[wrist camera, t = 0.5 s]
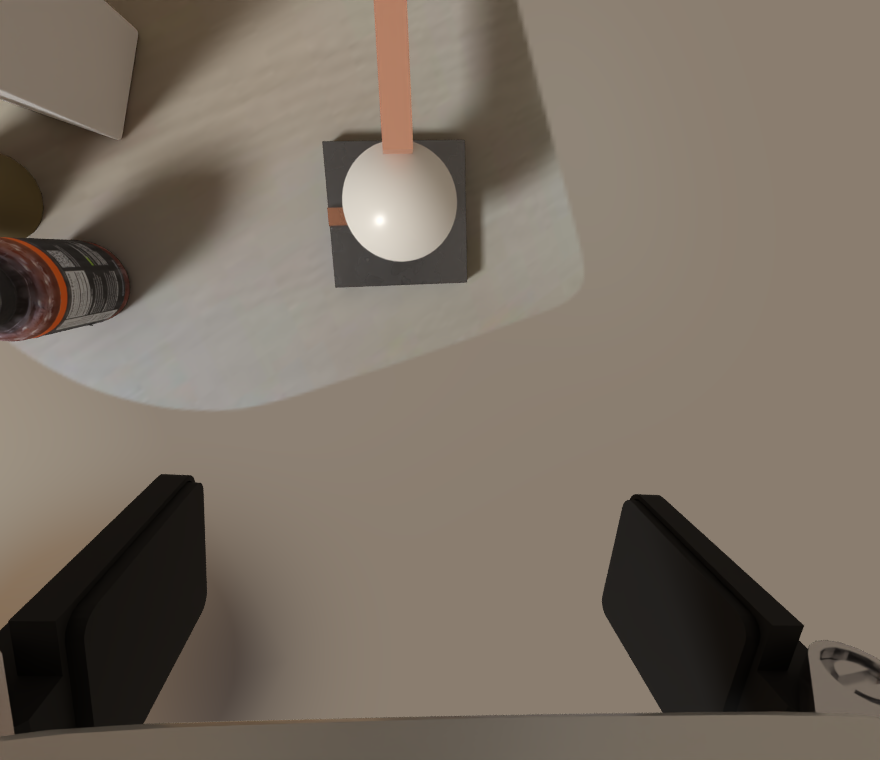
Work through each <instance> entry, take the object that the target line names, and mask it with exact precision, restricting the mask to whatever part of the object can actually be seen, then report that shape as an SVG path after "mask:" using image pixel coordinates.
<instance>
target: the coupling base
mask: <svg viewBox="0 0 880 760" xmlns="http://www.w3.org/2000/svg"><path fill="white" fill-rule="evenodd" d="M381 142H382V141H322V143H323V154H324V166H325V177H326V188H327V199H328V208H327V209H328V220H329V226H330V232H331V244H332V255H333V266H334V277H335V288H337V287H363V286H388V285H414V284H439V283H464V282H467V250H466V193H465V140H413V142H415V143H418V144H420V145H422V146H424V147H426V148H428V149H429V150H431V151H432V152H433V153H434V154H436V155H437V156H438V157H439V158H440V159H441V161H442V162H443V163H444V164H445V166H446V167H447V169H448V170H449V172H450V174H451V176H452V179H453V182H454V185H455V189H456V195H457V210H456V217H455V220H454V223H453V226H452V228H451V231H450V232H449V234H448V236H447V237H446V239H445V240H444V241H443V243H442V244H441V245H440V246H439V247H438V248H437V249H435V250H434V251H433V252H431V253H430V254H428V255H426V256H424V257H422V258H419V259H416V260H412V261H404V262H402V261H391V260H387V259H384V258H381V257H379V256H376V255H374V254H373V253H371V252H370V251H368V250H367V249H366V248H364V247H363V246H362V245H361V244H360V243H359V242H358V241H357V239H356V238H355V237H354V235H353V234H352V232H351V230H350V229H349V227H348V224H347V222H346V219H345V216H344V212H343V205H342V193H343V186H344V182H345V178H346V176H347V173H348V171H349V169H350V167H351V166H352V164H353V163H354V161H355V160H356V159H357V158H358V157H359V156H360V155H361V154H362V153H363V152H364V151H365V150H367V149H368V148H370V147H372V146H373V145H375V144H378V143H381Z"/></svg>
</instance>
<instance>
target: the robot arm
mask: <svg viewBox="0 0 880 760" xmlns="http://www.w3.org/2000/svg"><path fill="white" fill-rule="evenodd" d="M206 596H207V581H206V552H205V524H204V494H203V486H202V484H201V483H195V480H194V478H193V477H192V476H191V475H168V474H161V475H160V476H158V477H157V478H156V479H155V480H154V481H153V482H152V483H151V484H150V485H149V486H148V487H147V488H146V489H145V490H144V491H143V492H142V493H141V494H140V495H139V496H137V497H136V499H134V500H133V501H132V502H131V503H130V504H129V505H128V506H127V507H126V508H125V509H124V510H123V511H122V512H121V513H120V514H119V515H118V516H117V517H116V518H115V519H114V520H113V521H112V522H110V523H109V524H108V525H107V526H106V527H105V528H104V529H103V530H102V531H101V532H100V533H99V534H98V535H97V536H96V537H95V538H94V539H93V540H92V541H91V542H90V543H89V544H88V545H87V546H86V547H85V548H84V549H83V550H81V552H79V553H78V554H77V555H76V556H75V557H74V558H73V559H72V560H71V561H70V562H69V563H68V564H67V565H66V566H65V567H64V568H63V569H62V570H61V571H60V572H59V573H58V574H57V575H56V576H55V577H54V578H52V580H50V581H49V582H48V583H47V584H46V585H45V586H44V587H43V588H42V589H41V590H40V591H39V592H38V593H37V594H36V595H35V596H34V597H33V598H32V599H31V600H30V601H29V602H28V603H27V604H25V605H24V607H22V608H21V609H20V610H19V611H18V612H17V613H16V614H15V615H14V616H13V617H12V618H11V619H10V620H9V621H8V623H7V624H6V625H5V626H4V627H3V628H2V629H1V630H0V760H880V660H879V659H877V658H876V657H874V656H872V655H870V654H868V653H866V652H864V651H862V650H860V649H858V648H855V647H852V646H849V645H846V644H843V643H840V642H835V641H829V640H821V641H815V642H813V643H812V644H810V645H809V648H808V649H807V648H806V647H805V646H804V645H803V644H802V643H801V642H800V641H799V638H800V635H801V632H802V630H803V627H804V625H803V624H802V623H801V622H799V621H798V620H797V619H796V618H795V617H794V616H793V615H792V614H791V613H790V612H789V611H787V610H786V609H785V608H784V607H783V606H782V605H781V604H780V603H779V602H777V601H776V600H775V599H774V598H773V597H772V596H771V595H770V594H769V593H768V592H767V591H765V590H764V589H763V588H762V587H761V586H760V585H759V584H758V583H756V582H755V581H754V580H753V579H752V578H751V577H750V576H749V575H748V574H747V573H745V572H744V571H743V570H742V569H741V568H740V567H739V566H738V565H737V564H736V563H735V562H733V561H732V560H731V559H730V558H729V557H728V556H727V555H726V554H725V553H723V552H722V551H721V550H720V549H719V548H718V547H717V546H716V545H715V544H714V543H712V542H711V541H710V540H709V539H708V538H707V537H706V536H705V535H704V534H702V533H701V532H700V531H699V530H698V529H697V528H696V527H695V526H694V525H693V524H692V523H690V522H689V521H688V520H687V519H686V518H685V517H684V516H683V515H682V514H681V513H679V512H678V511H677V510H676V509H675V508H674V507H673V506H672V505H671V504H669V503H668V502H667V501H666V500H665V499H664V498H663V497H661V496H660V495H641V494H639V495H638V494H635V495H633V496H632V497H631V498H630V500H627V501H625V503H624V504H623V507H622V511H621V516H620V520H619V525H618V529H617V534H616V539H615V543H614V547H613V551H612V556H611V560H610V565H609V569H608V574H607V578H606V583H605V587H604V592H603V596H602V605H603V610H604V613H605V615H606V617H607V619H608V620H609V622H610V624H611V626H612V627H613V629H614V631H615V632H616V634H617V636H618V637H619V639H620V641H621V643H622V644H623V646H624V647H625V649H626V651H627V652H628V654H629V656H630V658H631V660H632V661H633V663H634V665H635V666H636V668H637V670H638V671H639V673H640V675H641V677H642V678H643V680H644V682H645V683H646V685H647V687H648V688H649V690H650V692H651V693H652V695H653V697H654V699H655V700H656V702H657V704H658V705H659V707H660V709H661V711H662V712H663V713H599V714H598V713H596V714H595V713H594V714H535V715H534V714H532V715H481V716H480V715H478V716H430V717H383V718H343V719H304V720H265V721H227V722H226V721H225V722H192V723H155V724H143V723H144V721H145V720H146V718H147V716H148V714H149V712H150V709H151V708H152V706H153V704H154V702H155V700H156V699H157V697H158V695H159V693H160V691H161V689H162V687H163V685H164V683H165V682H166V680H167V678H168V676H169V674H170V672H171V670H172V668H173V666H174V664H175V662H176V660H177V659H178V657H179V655H180V653H181V651H182V649H183V647H184V645H185V643H186V641H187V640H188V638H189V636H190V634H191V632H192V630H193V628H194V626H195V624H196V623H197V621H198V619H199V617H200V615H201V613H202V611H203V609H204V605H205V601H206Z"/></svg>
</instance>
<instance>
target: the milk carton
mask: <svg viewBox="0 0 880 760" xmlns="http://www.w3.org/2000/svg"><path fill="white" fill-rule="evenodd" d="M137 39H138V31H137V29H136V28H135V27H133V26H132V25H131V24H130V23H129V22H128V21H127V20H126V19H124V18H123V17H122V16H121V15H120V14H119V13H118V12H117V11H116V10H114V9H113V8H112V7H111V6H110V5H109V4H108V3H107V2H105V1H104V0H0V99H1V100H3V101H6V102H9V103H11V104H14V105H17V106H20V107H23V108H26V109H29V110H32V111H35V112H38V113H40V114H43V115H46V116H49V117H52V118H55V119H58V120H61V121H64V122H67V123H69V124H72V125H75V126H78V127H81V128H84V129H87V130H90V131H93V132H96V133H98V134H101V135H104V136H107V137H110V138H113V139H116V140H121V138H122V134H123V128H124V122H125V115H126V109H127V103H128V96H129V90H130V84H131V78H132V71H133V65H134V59H135V52H136V46H137Z"/></svg>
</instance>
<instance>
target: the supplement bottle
mask: <svg viewBox="0 0 880 760" xmlns="http://www.w3.org/2000/svg"><path fill="white" fill-rule="evenodd" d="M129 293H130V285H129V279H128V275H127V273H126V270H125V269H124V267H123V265H122V264H121V263H120V261H119V260H118V259H117V258H116V257H115V256H114V255H113V254H112V253H111V252H109V251H108V250H106V249H105V248H103V247H101V246H99V245H97V244H94V243H90V242H86V241H78V240H59V239H57V240H56V239H34V238H8V237H0V340H2V341H20V340H26V339H30V338H38V337H40V336H43V335H49V334H53V333H57V332H61V331H66V330H70V329H73V328H78V327H82V326H88V325H91V324H95V323H99V322H103V321H105V320H108V319H110V318H112V317H114V316H116V315H117V314H118V313H119V312H120V311H121V310H122V309H123V308H124V306H125V305H126V303H127V301H128V297H129ZM91 326H93V325H91Z"/></svg>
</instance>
